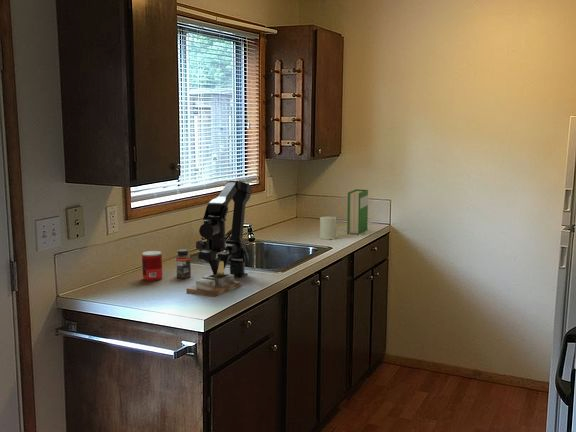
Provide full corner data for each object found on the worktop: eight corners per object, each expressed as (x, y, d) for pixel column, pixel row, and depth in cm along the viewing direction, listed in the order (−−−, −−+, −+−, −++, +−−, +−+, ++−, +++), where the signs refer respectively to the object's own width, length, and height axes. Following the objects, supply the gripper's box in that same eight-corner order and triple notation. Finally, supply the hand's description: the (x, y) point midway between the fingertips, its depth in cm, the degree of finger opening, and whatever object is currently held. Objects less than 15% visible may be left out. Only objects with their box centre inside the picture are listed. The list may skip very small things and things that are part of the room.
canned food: (166, 278, 263) (165, 252, 261) (152, 282, 256) (151, 255, 254) (153, 275, 267) (152, 250, 265) (138, 279, 260) (137, 253, 259)
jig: (213, 281, 257) (213, 270, 256) (240, 285, 251) (240, 274, 250) (186, 292, 241) (186, 280, 240) (214, 296, 235) (214, 284, 234)
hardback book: (359, 235, 359) (360, 193, 356) (347, 234, 362) (347, 192, 358) (367, 230, 376) (368, 189, 372) (355, 229, 378) (355, 189, 375)
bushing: (217, 278, 251) (216, 259, 250) (226, 280, 249) (226, 260, 248) (210, 281, 247) (210, 261, 246) (220, 282, 245) (219, 262, 244)
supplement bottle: (184, 274, 269) (183, 248, 268) (193, 276, 266) (193, 249, 264) (173, 276, 265) (172, 250, 263) (183, 279, 261) (182, 252, 259)
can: (331, 240, 344) (331, 218, 342) (316, 238, 349) (316, 217, 347) (339, 237, 352) (339, 216, 350) (324, 236, 356) (324, 215, 355)
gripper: (214, 228, 257) (215, 266, 260) (186, 236, 241) (187, 276, 243) (237, 230, 252) (237, 269, 254) (210, 238, 236) (211, 279, 238)
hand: (218, 273), depth 248 cm, fingers closed on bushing, 4 cm apart
